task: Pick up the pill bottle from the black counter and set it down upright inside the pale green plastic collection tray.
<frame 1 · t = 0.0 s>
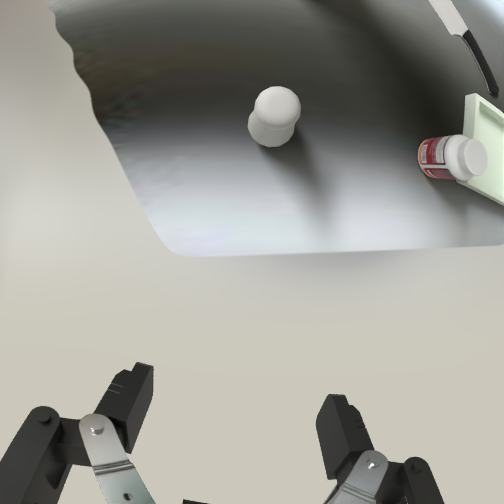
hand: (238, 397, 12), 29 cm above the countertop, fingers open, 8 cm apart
kitchen cleaver: (449, 22, 30), on the countertop
collection tray: (487, 152, 36), on the countertop
pill bottle: (430, 158, 37), on the countertop
salt shaker: (270, 127, 36), on the countertop
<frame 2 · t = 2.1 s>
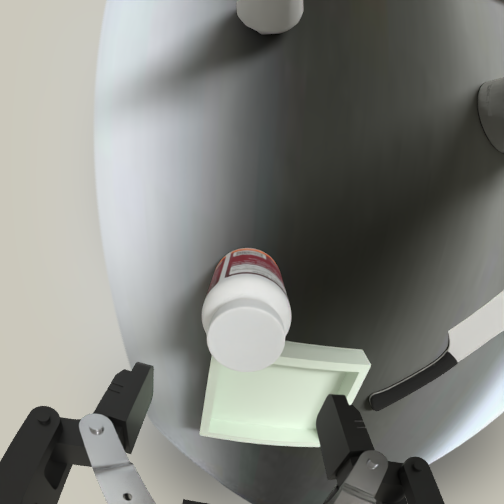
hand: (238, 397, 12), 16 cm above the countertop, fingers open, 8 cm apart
kitchen cleaver: (463, 333, 30), on the countertop
collection tray: (277, 390, 31), on the countertop
pill bottle: (247, 277, 27), on the countertop
salt shaker: (268, 20, 21), on the countertop
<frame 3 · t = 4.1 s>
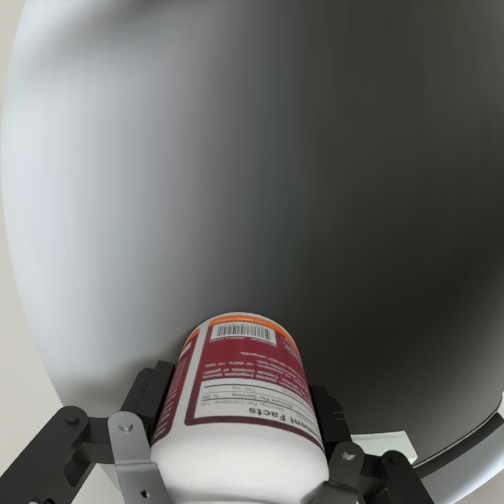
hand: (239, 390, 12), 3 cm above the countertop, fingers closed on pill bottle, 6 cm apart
collection tray: (284, 480, 19), on the countertop
pill bottle: (241, 356, 15), on the countertop, touching gripper
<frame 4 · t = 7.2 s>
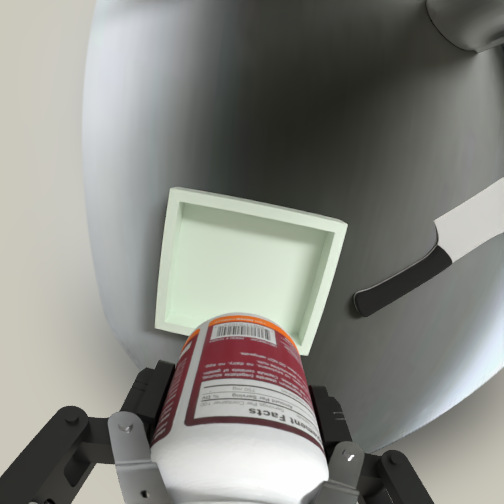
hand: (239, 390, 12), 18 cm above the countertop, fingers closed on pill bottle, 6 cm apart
kitchen cleaver: (453, 230, 29), on the countertop
collection tray: (245, 270, 30), on the countertop
pill bottle: (241, 356, 15), point 15 cm above the countertop, touching gripper
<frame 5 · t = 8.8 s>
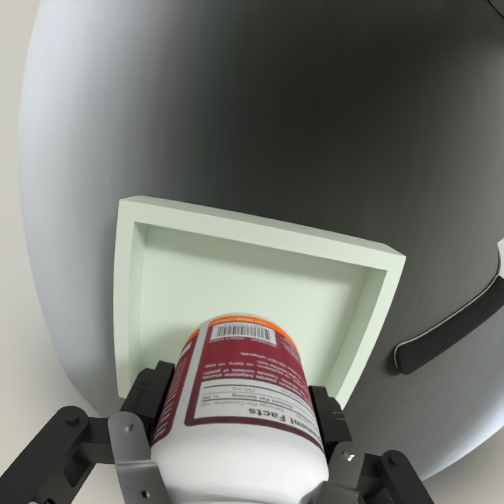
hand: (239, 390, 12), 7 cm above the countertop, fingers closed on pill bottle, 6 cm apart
collection tray: (244, 321, 19), on the countertop
pill bottle: (241, 356, 15), point 4 cm above the countertop, touching gripper
when the fingers open (5 cm above the countertop, at t = 10.4 s): pill bottle drops 1 cm, resting on collection tray.
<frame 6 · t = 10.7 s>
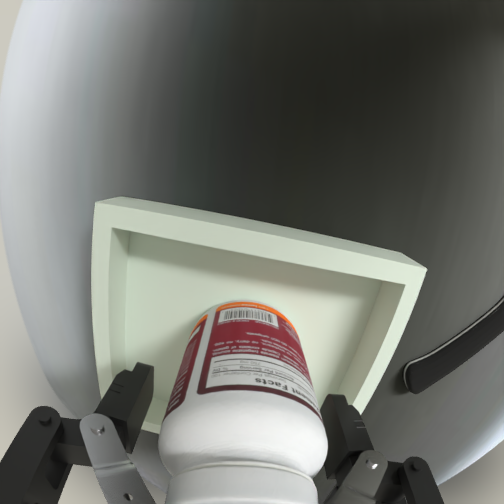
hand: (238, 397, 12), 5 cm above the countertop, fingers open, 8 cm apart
collection tray: (241, 339, 17), on the countertop
pill bottle: (245, 342, 16), resting on collection tray
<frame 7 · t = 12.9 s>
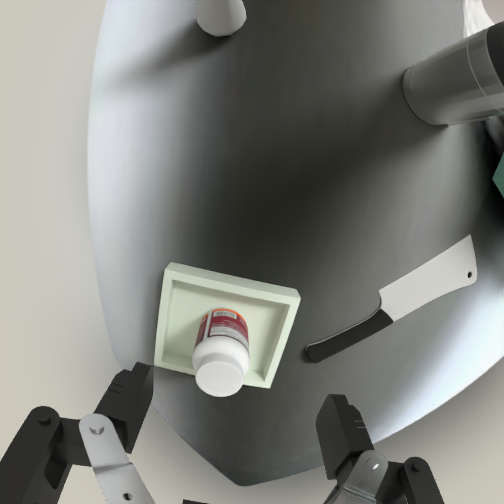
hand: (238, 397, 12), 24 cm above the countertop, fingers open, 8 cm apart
kitchen cleaver: (397, 293, 38), on the countertop
collection tray: (222, 325, 38), on the countertop
pill bottle: (224, 326, 37), resting on collection tray
salt shaker: (222, 25, 28), on the countertop
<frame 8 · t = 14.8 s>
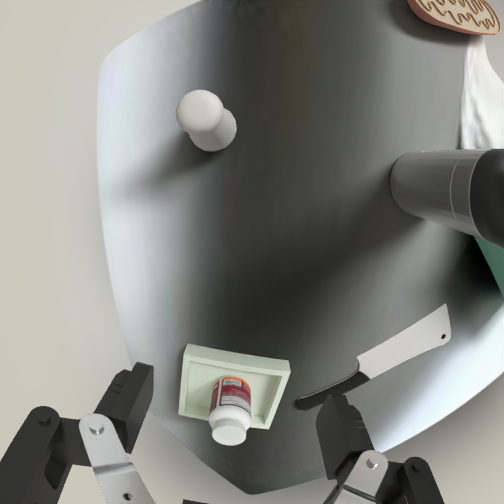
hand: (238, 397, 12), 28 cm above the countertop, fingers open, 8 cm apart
kitchen cleaver: (374, 357, 45), on the countertop
collection tray: (231, 385, 45), on the countertop
pill bottle: (232, 386, 45), resting on collection tray
mitochondrion model: (447, 17, 28), on the countertop
salt shaker: (215, 131, 35), on the countertop
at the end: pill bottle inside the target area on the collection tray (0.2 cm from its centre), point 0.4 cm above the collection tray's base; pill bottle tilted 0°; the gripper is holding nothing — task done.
